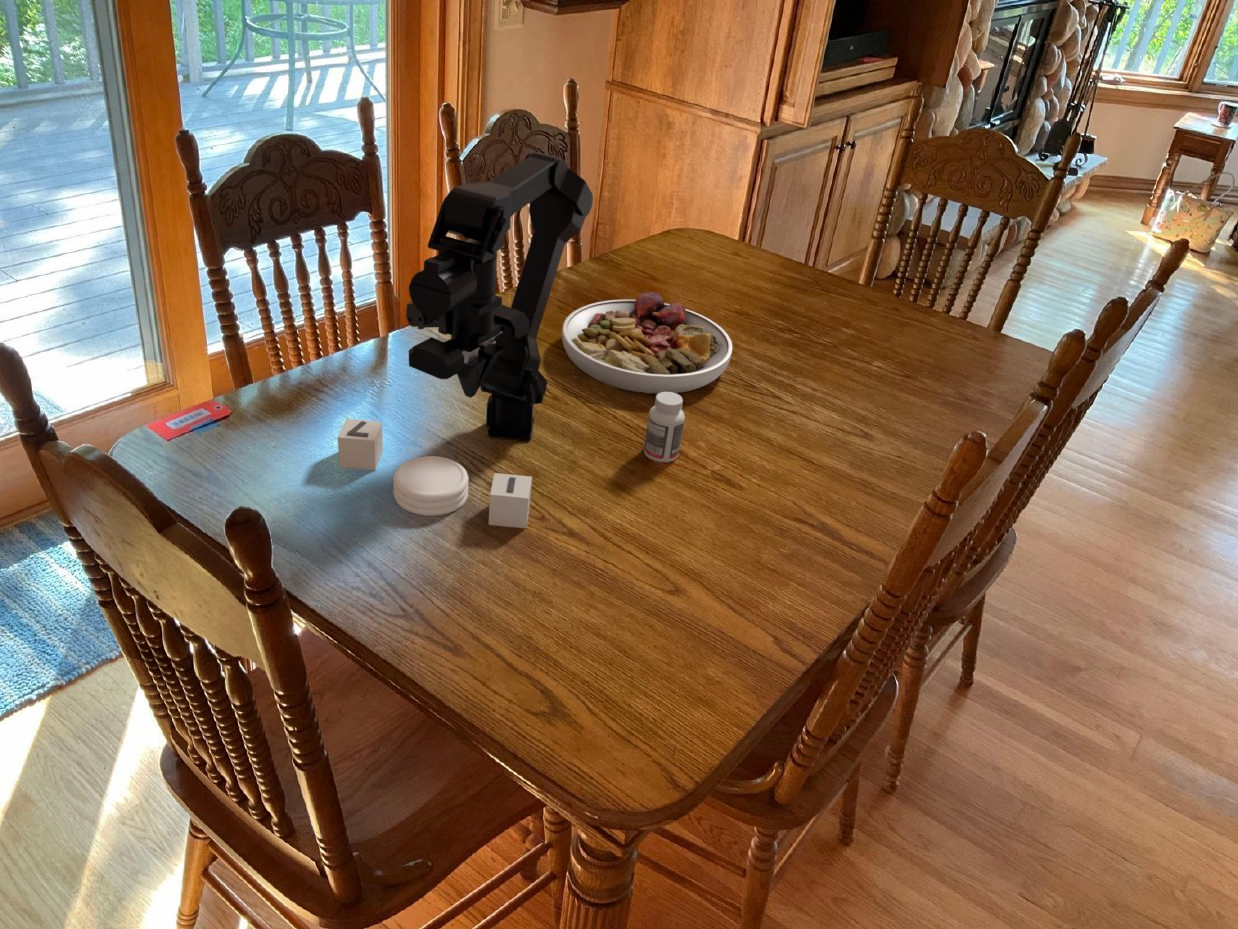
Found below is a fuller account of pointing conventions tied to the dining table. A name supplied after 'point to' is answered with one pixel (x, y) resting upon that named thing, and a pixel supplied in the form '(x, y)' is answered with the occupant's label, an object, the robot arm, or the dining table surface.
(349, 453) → the block seven
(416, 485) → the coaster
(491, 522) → the block one
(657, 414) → the pill bottle
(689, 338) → the bowl
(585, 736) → the dining table surface
